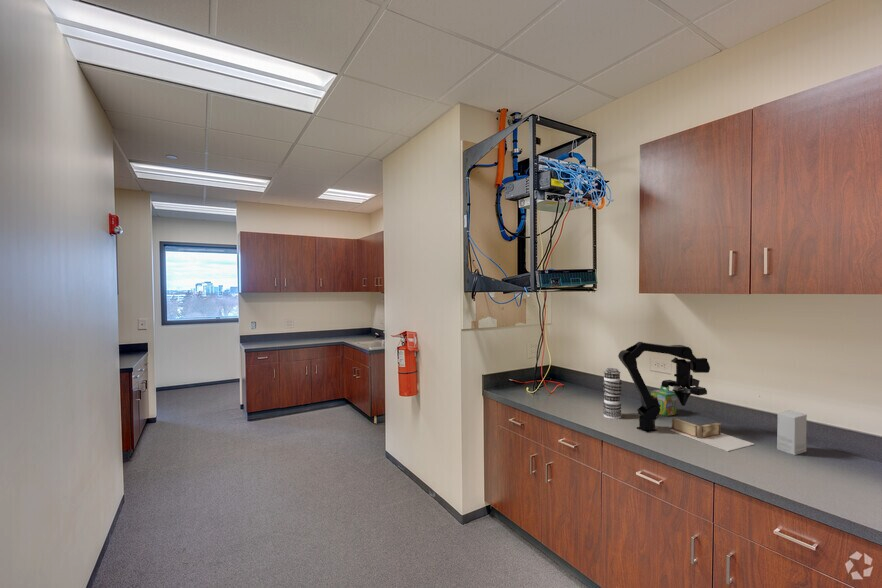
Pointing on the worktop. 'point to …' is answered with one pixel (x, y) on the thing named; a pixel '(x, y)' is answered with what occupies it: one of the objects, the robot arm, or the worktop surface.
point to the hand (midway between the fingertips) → (683, 405)
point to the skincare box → (791, 432)
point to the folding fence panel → (711, 429)
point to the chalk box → (666, 401)
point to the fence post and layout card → (715, 440)
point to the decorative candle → (612, 393)
